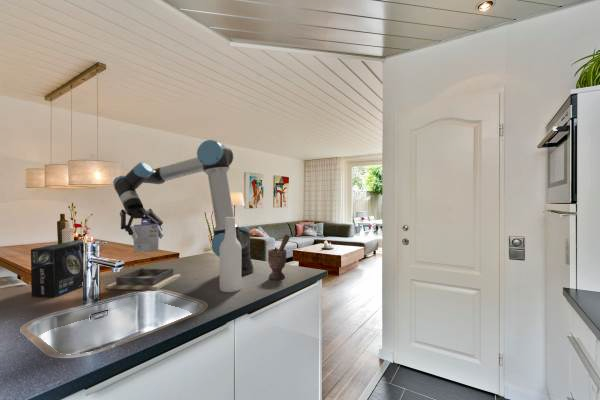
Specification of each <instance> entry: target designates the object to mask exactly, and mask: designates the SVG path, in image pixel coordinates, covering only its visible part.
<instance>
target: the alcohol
mask: <svg viewBox="0 0 600 400" xmlns="http://www.w3.org/2000/svg"><path fill="white" fill-rule="evenodd" d="M225 221H226V226H225V238H224V240H223V242H222V243H221V244H220V248H219V252H220V257H219V290H220V291H221V292H223V293H235V292H238V291H240V290H241V288H242V275H241V244H240V242H239V241H238V240H237V238H236V228H235V224H236V217H235V216H234V217H226V220H225Z"/></svg>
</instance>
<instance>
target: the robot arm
mask: <svg viewBox="0 0 600 400" xmlns="http://www.w3.org/2000/svg"><path fill="white" fill-rule="evenodd" d="M197 147H198V148H197V150H196V157H193V158H190V159H186V160H182V161H179V162H175V163H171V164H167V165H165V166H161V167H157V168H152V167H151V166H150V165H149V164H148V163H145V162H144V161H140V162H139V163H137V164H136V165H135V166H133V168H132V169H131V170H129V172H128V173H127V174H126V175H118V177H115V178H114V179H113V181H112V185H113V187H114V190H115V192H116V193H117V196H118V197H119V200H120V202H121V204H122V206H123V208H124V209H121V210H120V212H119V216H120V230H125V232H127V234H128V235H129V236H130V237H131V238H132V240H133V243H134V242H136V241H137V239H138V236H137V234H136V232H135V230H134V225H133V226H131V225H132V224H133V220H134V219H136V220H138V219H150V222H151V224H158V239H160V240H161V239H163V237H164V233H163V228H162V224H164V221H163V220H162V219H160V217H158V215H157V214H155V212H154V211H153V209H152V208H149V209H146V208H145V207H144V204H143V202H142V201H141V199H140V196H139V194H138V193H137V191H136V190H137V189H138V188H139V187H140V186H141V185H143V184H155V185H163V184H164V183H165V182H169V181H171V180H175V179H179V178H183V177H186V176H190V175H193V174H194V175H195V174H197V173H201V172H204V173H205V174H206V175H207V178H208V184H209V191H210V198H211V203H212V209H213V217H214V221H215V227H214V229H213V239H212V241H211V250H212V252H213V253H214V255H215V256H217V257H219V258H220V252H219V248H220V244H221V243H222V242H223V240H224V238H225V226H226V221H225V220H226V217H235V216H234V210H233V204H232V198H231V191H230V186H229V185H230V184H229V179H228V178H229V177H228V171H229V170H230V165H231V164H232V163H233V161H234V153H233V150H232V149H231V148H230V147H229V146H228V145H225V144H223V143H221V142H220V141H218V140H214V139H207V140H204V141H203V142H201V143H200V145H199V146H197ZM127 215H128V216H129V219H128V223H127ZM145 222H149V221H147V220H145ZM235 228H236V238H237V240H238V241H239V242H240V244H241V276H245V275H250V274H252V273H253V272H254V265H253V262H252V259H251V231H250V230H251V229H250V228H249V227H248V226H247V227H246V226H239V225H238V224H237V223H235Z"/></svg>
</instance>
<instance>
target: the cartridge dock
mask: <svg viewBox="0 0 600 400" xmlns="http://www.w3.org/2000/svg"><path fill="white" fill-rule="evenodd" d="M179 277H180V278H181V277H182V274H181V273H180V274H179V273H174V268H151V267H149V268H147V267H146V268H145V267H142V268H138V269H135V270H132V271H129V272H126V273H125V274H122V275H120V276H117V277H115V278H116V279H115V282H113V283H111V284H109V285H107V286H106V289H108V290H115V289H116V290H139V291H141V290H146V291H150V290H151V291H152V290H153V291H157V290H158V291H159V290H160V289H161V288H163V287H165V286H167V285H169V284H171V283H173V282H174V281H176V280H178V279H180V278H179ZM177 278H178V279H177ZM170 282H171V283H170Z"/></svg>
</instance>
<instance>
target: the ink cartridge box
mask: <svg viewBox="0 0 600 400" xmlns="http://www.w3.org/2000/svg"><path fill="white" fill-rule="evenodd" d="M146 220H147V221H149V222H147V221H146ZM140 221H141V222H140V224H134V225H133V228H134V230H135V232H136V234H137V236H138V239H137V241H136V242H134V241H133V254H138V253H150V252H151V253H152V252H159V236H158V224H151V222H150V219H142V218H140Z"/></svg>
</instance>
